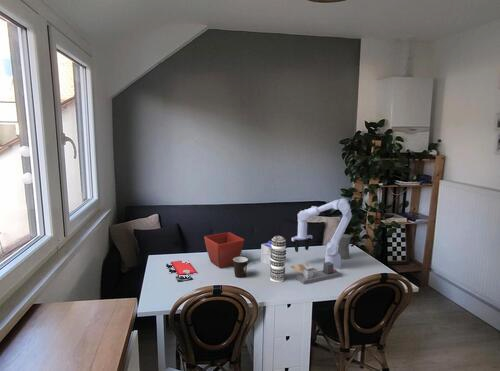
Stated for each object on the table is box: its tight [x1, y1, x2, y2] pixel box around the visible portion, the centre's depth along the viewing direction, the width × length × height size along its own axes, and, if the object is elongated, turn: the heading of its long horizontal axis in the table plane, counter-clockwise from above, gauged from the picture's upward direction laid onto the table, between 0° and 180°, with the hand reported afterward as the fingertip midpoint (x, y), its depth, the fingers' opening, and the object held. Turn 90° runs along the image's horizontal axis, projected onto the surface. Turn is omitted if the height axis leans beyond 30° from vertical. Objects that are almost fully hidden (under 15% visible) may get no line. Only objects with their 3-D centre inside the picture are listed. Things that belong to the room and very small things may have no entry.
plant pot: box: [204, 232, 245, 269], centre depth 217 cm, size 19×19×17 cm
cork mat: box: [290, 262, 317, 274], centre depth 211 cm, size 12×12×1 cm
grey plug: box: [302, 264, 315, 279], centre depth 194 cm, size 4×4×8 cm
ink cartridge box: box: [260, 240, 272, 267], centre depth 218 cm, size 10×6×14 cm, turn 38°
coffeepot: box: [337, 230, 358, 260], centre depth 231 cm, size 15×9×18 cm, turn 94°
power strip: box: [295, 269, 342, 285], centre depth 197 cm, size 26×8×3 cm, turn 116°
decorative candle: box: [269, 235, 287, 283], centre depth 194 cm, size 9×9×25 cm
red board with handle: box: [165, 260, 198, 282], centre depth 206 cm, size 30×3×15 cm
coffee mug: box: [233, 256, 250, 279], centre depth 200 cm, size 12×9×10 cm
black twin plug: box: [322, 261, 334, 275], centre depth 200 cm, size 4×4×8 cm
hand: (301, 250), depth 216 cm, fingers open, 7 cm apart
